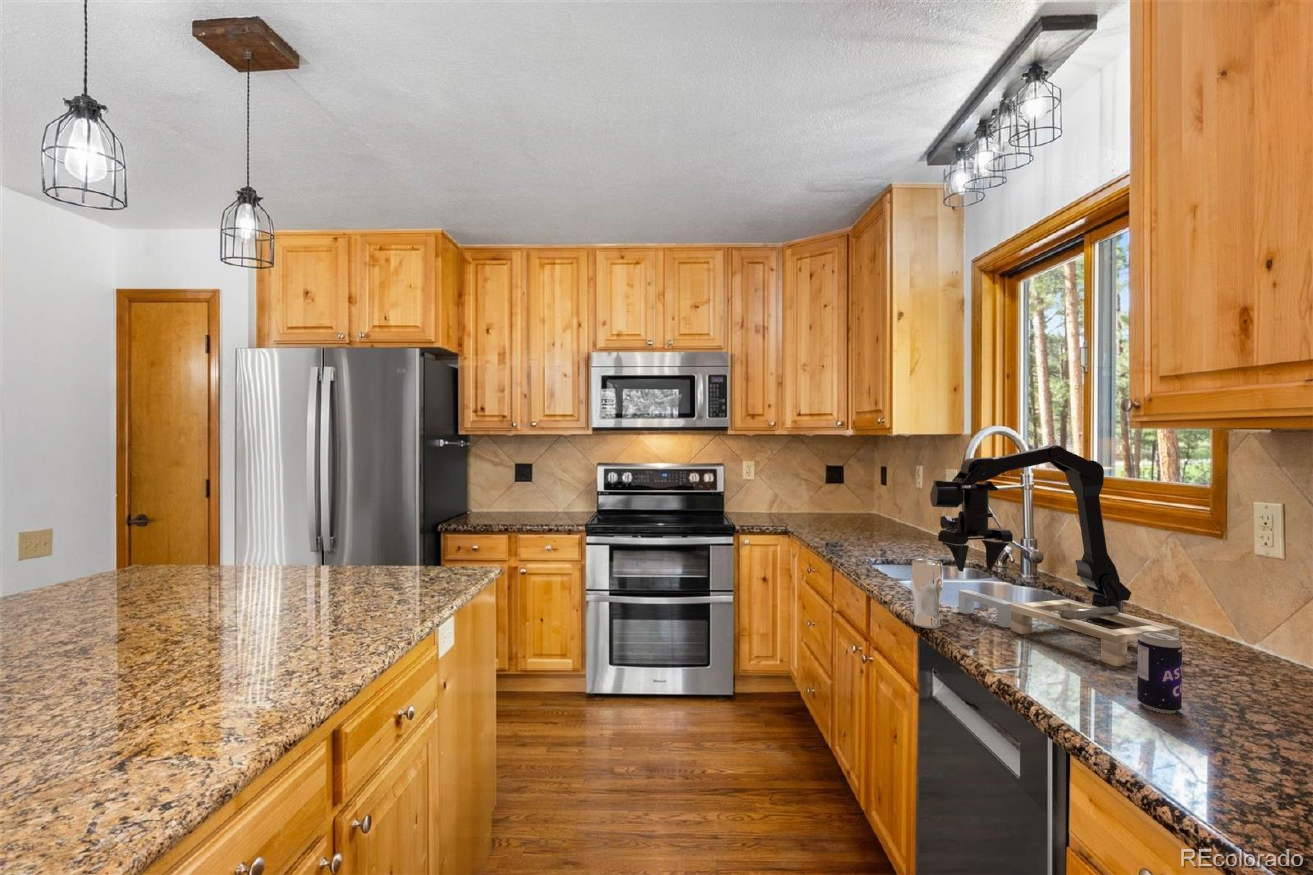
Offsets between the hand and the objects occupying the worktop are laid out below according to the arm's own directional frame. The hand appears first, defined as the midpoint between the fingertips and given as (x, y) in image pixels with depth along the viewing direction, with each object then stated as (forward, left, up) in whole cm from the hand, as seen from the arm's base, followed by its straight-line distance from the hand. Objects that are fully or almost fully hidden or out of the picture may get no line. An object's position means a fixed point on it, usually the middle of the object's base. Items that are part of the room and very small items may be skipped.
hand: (975, 570), depth 157 cm
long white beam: (0, +3, -11) cm, 12 cm away
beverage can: (+15, +52, -12) cm, 56 cm away
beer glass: (+18, +3, -12) cm, 22 cm away
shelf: (-7, +24, -11) cm, 28 cm away
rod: (-7, +24, -6) cm, 26 cm away
